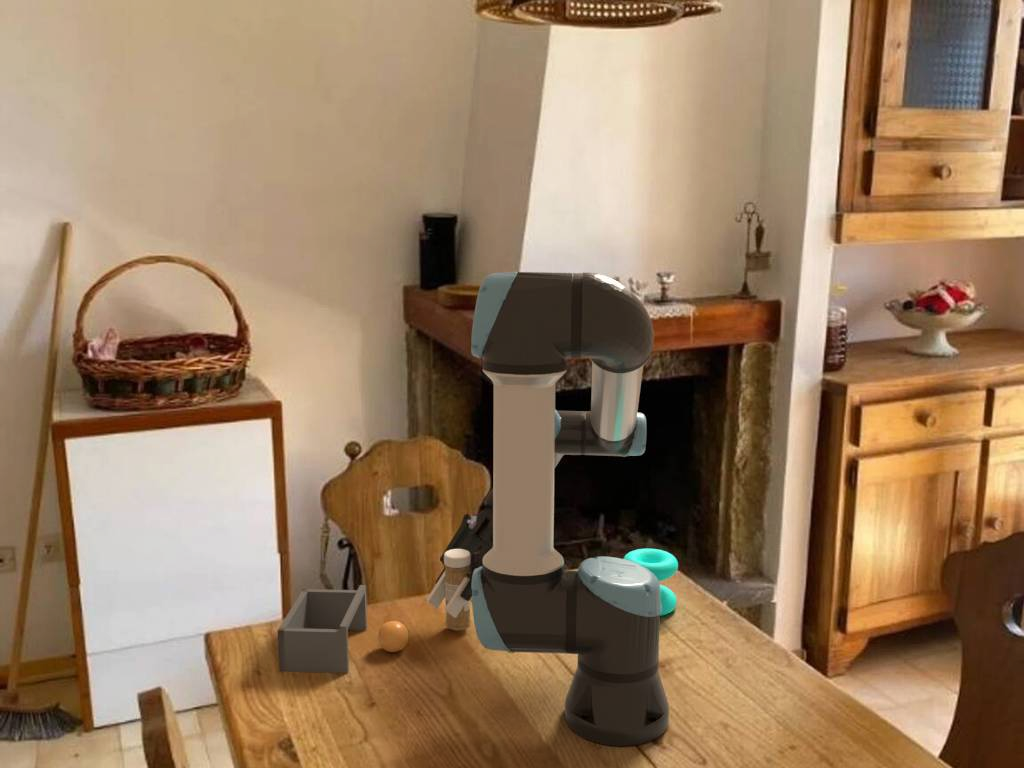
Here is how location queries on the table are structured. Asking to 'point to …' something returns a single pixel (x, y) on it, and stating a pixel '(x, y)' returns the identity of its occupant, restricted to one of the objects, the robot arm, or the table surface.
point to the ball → (393, 636)
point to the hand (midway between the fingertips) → (440, 609)
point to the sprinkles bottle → (456, 585)
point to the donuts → (658, 572)
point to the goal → (321, 630)
